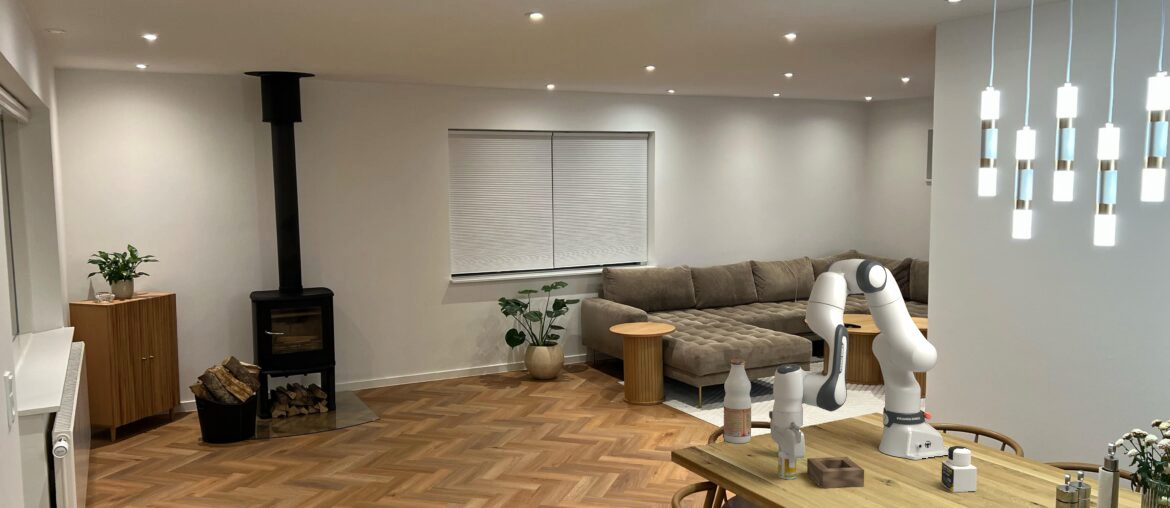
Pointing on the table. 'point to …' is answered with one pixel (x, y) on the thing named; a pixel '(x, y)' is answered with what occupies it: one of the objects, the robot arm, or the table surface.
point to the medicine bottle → (959, 470)
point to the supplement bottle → (785, 466)
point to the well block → (835, 472)
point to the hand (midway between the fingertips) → (787, 463)
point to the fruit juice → (737, 404)
